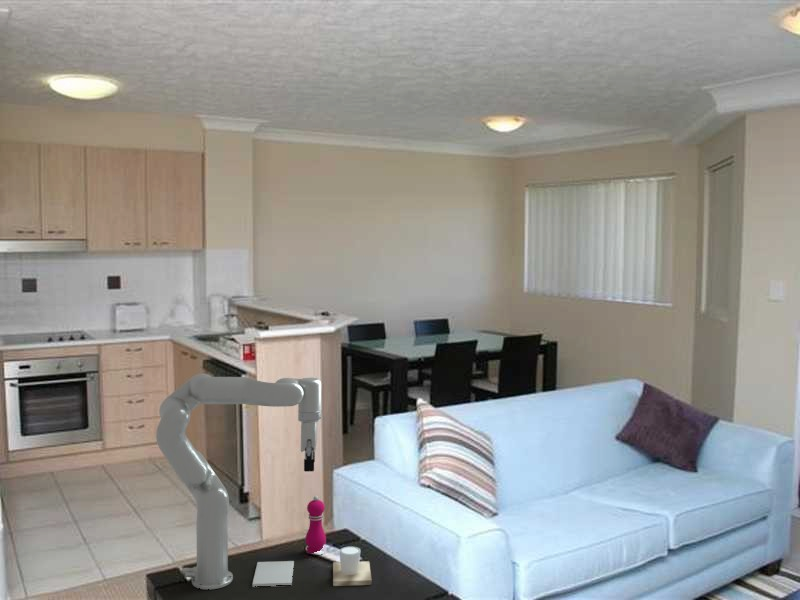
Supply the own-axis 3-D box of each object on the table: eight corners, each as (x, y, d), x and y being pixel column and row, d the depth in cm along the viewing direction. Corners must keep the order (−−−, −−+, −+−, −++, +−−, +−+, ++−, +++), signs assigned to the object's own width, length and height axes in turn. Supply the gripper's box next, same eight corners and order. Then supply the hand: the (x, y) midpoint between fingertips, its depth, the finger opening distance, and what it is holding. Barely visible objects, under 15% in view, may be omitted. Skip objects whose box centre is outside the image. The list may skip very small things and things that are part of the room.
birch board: (333, 586, 226) (333, 581, 226) (333, 566, 240) (333, 562, 240) (371, 584, 227) (371, 580, 227) (369, 565, 241) (369, 561, 241)
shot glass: (357, 577, 229) (357, 555, 229) (336, 575, 230) (336, 553, 230) (362, 567, 236) (363, 547, 236) (342, 566, 237) (342, 545, 237)
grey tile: (252, 587, 225) (252, 583, 225) (257, 564, 241) (257, 562, 241) (291, 585, 226) (291, 582, 226) (294, 563, 242) (294, 561, 242)
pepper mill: (330, 551, 253) (330, 495, 251) (317, 558, 246) (317, 500, 245) (314, 546, 256) (314, 491, 255) (300, 553, 250) (301, 496, 249)
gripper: (299, 410, 246) (299, 459, 247) (297, 421, 229) (296, 474, 230) (321, 409, 247) (321, 459, 248) (320, 421, 230) (320, 474, 231)
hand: (309, 466), depth 239 cm, fingers open, 9 cm apart
